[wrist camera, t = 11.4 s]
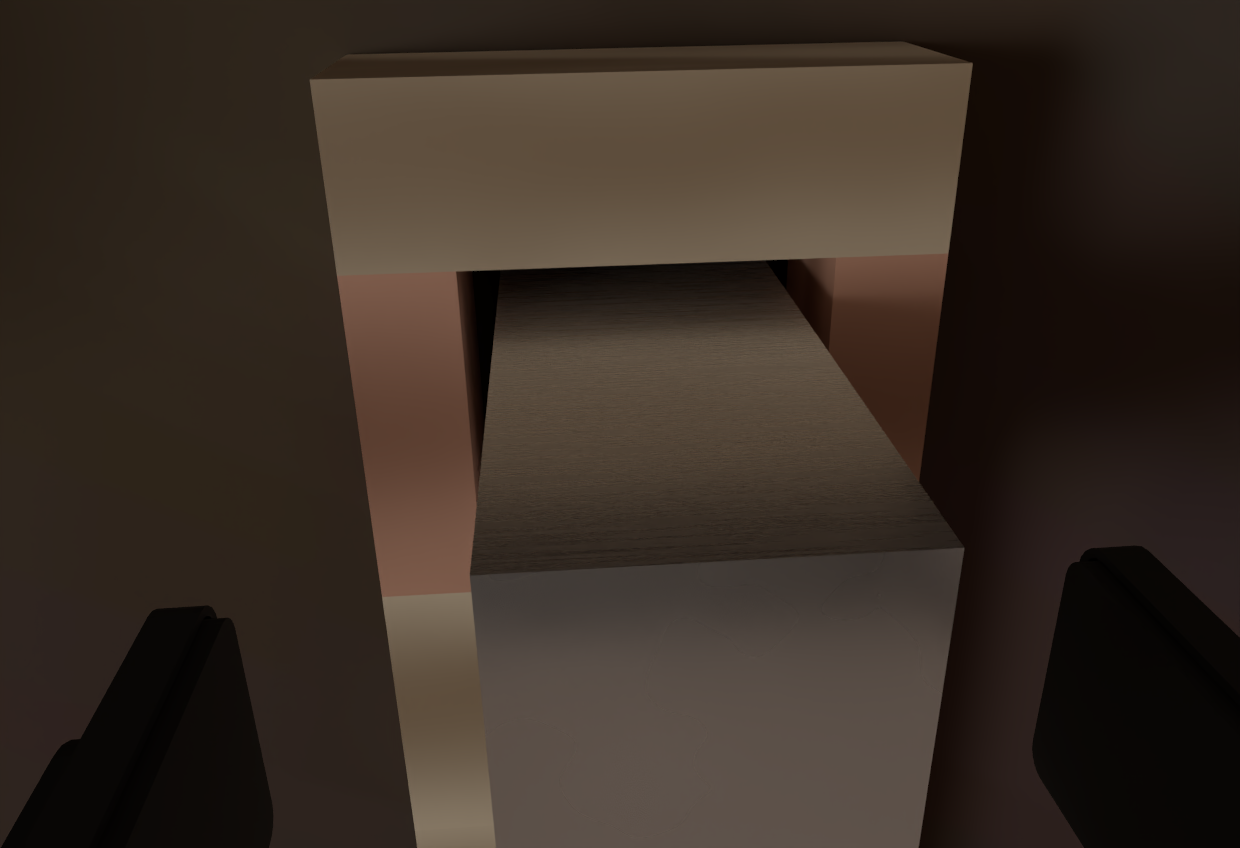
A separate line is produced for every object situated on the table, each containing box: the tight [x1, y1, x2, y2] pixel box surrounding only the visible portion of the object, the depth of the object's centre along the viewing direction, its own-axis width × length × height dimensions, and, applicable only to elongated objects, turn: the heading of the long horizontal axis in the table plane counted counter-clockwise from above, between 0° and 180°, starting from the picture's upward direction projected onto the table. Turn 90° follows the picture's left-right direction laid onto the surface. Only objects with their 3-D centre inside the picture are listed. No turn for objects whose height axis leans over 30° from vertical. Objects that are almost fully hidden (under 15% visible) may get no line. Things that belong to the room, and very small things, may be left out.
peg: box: [470, 260, 964, 848], centre depth 14 cm, size 4×4×10 cm
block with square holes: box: [310, 41, 973, 848], centre depth 20 cm, size 22×9×3 cm, turn 1°
